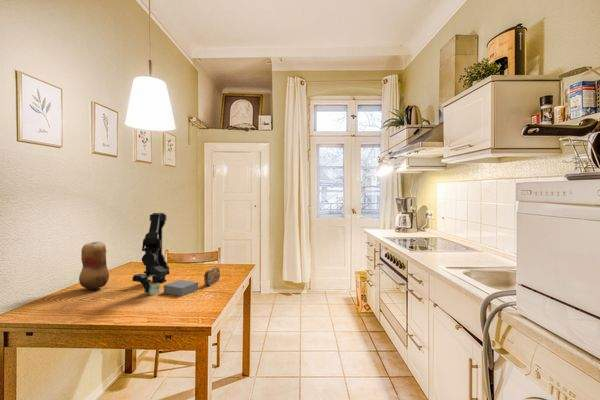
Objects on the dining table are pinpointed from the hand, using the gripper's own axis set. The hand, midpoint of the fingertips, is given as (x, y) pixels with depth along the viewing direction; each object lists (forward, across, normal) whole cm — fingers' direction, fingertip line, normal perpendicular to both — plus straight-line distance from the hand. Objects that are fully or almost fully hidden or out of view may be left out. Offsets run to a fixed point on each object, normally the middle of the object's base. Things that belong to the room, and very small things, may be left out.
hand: (151, 291), depth 169 cm
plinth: (+1, +9, -11) cm, 14 cm away
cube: (+1, 0, 0) cm, 1 cm away
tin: (+1, +28, -16) cm, 32 cm away
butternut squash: (+1, -7, +33) cm, 34 cm away
